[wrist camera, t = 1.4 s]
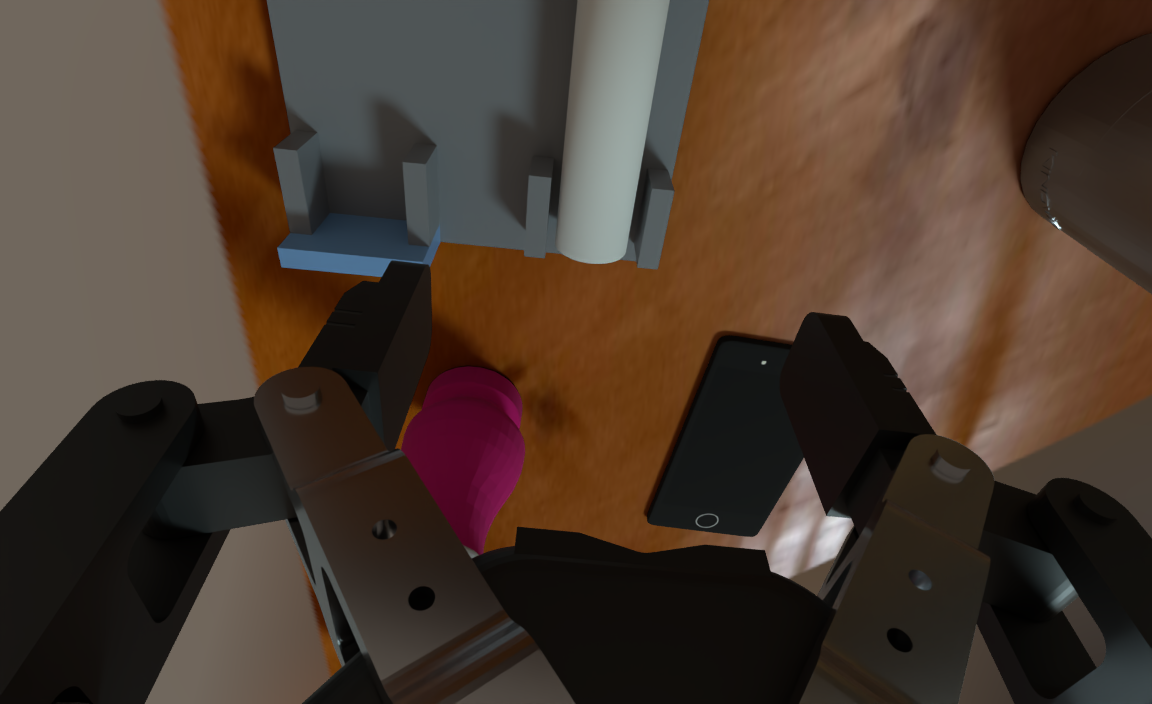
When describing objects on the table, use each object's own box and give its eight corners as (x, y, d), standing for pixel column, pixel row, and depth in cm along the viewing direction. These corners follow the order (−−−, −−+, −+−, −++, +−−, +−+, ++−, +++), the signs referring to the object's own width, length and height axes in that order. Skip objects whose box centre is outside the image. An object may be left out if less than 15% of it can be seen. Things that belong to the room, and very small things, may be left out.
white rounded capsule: (599, -194, 21) (592, -210, 18) (698, -181, 21) (706, -194, 18) (558, 225, 31) (550, 258, 28) (626, 234, 31) (625, 268, 28)
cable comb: (224, -305, 20) (135, -355, 16) (751, -228, 21) (789, -257, 17) (314, 220, 31) (276, 266, 27) (652, 254, 32) (661, 303, 28)
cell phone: (645, 515, 47) (646, 525, 46) (719, 329, 36) (722, 339, 35) (753, 528, 48) (755, 538, 47) (857, 351, 37) (862, 361, 36)
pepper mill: (399, 373, 38) (265, 719, 22) (507, 347, 36) (446, 696, 21) (446, 449, 42) (362, 787, 26) (544, 429, 41) (519, 771, 25)
